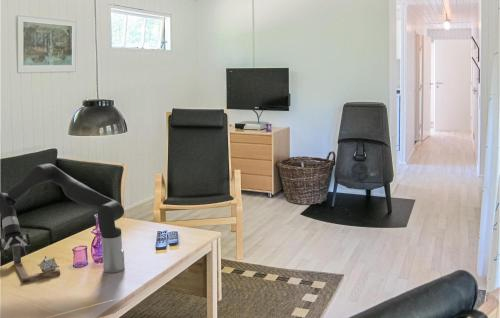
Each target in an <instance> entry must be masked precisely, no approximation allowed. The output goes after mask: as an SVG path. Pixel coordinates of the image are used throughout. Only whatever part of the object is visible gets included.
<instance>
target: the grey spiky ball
mask: <svg viewBox="0 0 500 318" xmlns="http://www.w3.org/2000/svg"><path fill="white" fill-rule="evenodd" d="M37 266H39V268H40V270H41V273H43V272H48V271H52V270H57V268H60V265H58V264H57V262H56V259H55V257H53V258H51V257H47V256H46V255H45V256H44V259H43V260H42V261H41V262H40V263H39V264H37Z"/></svg>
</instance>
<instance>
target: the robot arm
mask: <svg viewBox="0 0 500 318" xmlns="http://www.w3.org/2000/svg"><path fill="white" fill-rule="evenodd" d="M50 182H52V183H54V184H56V185H57V186H60V187H61V188H62V189H61V190H62V191H63V193H64V195H65V196H66V197H67V198H68V199H70V200H72V201H73V202H75V203H77V204H79V205H84V206H88V207H93V208H97V221H98V222H97V223H98V228H99V229H98V230H99V232H100V234H101V235H100V237H101V249H102V250H101V251H102V253H101V254H102V264H103V265H102V268H103V269H102V270H103V271H104V273H106V274H107V273H108V274H110V273H111V274H113V273H114V274H115V273H119V272H121V271H123V270H125V269H126V267H125V251H124V250H123V241H122V236H123V235H122V229H121V228H120V227H118V226H116V221H118V220H119V219H122V217H123V216H124V215H125V209H124V207H123V205H122V204H121V203H120V202H118V200H115V199H112V198H110V197H108V196H105V195H104V194H101V193H100V192H98V191H96V190H94V189H92V188H91V187H89V186H88V185H86V184H84V183H83V182H81V181H79V180H77V179H75V178H74V177H72V176H71V175H69V174H67V173H66V172H64V171H63V170H61V169H60V168H58V166H56V165H54V164H52V163H42V164H38V165H36V166H34V167H33V168H32V169H31V170H30V171H29V172H28V173H27V174H26V176H24V178H23V179H21V180H20V181H19V182H17V183H16V184H15V185H13V186H11V187H10V188H9V189H8V190H7V192H0V218H1V222H2V223H1V225H2V230H3V235H4V238H0V253H2V252H3V254H4V257H5V258H6V259H8V258H9V253H8V249H9V248H10V247H12V244H18V243H19V245H20V247H23V250H24V253H25V254H24V255H28V254H29V248H28V247H30V246H31V243H32V242H31V238H30V236H29V233H26V234H24V235H22V233H21V228H20V223H19V219H18V216H17V211H16V209H15V208H13V207H15V206H16V205H17V204H18V202H19V201H20V199H22V198H23V197H25V196H26V195H27V194H28V193H29V192H30V191H31V189H32V188H33V187H35V186H37V185H40V184H46V183H50ZM23 239H24V240H26V242H25V241H24V240H23ZM4 243H6V244H5V246H4V247H3V244H4Z"/></svg>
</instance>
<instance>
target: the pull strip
mask: <svg viewBox="0 0 500 318" xmlns="http://www.w3.org/2000/svg"><path fill="white" fill-rule="evenodd" d="M11 247H12V249H11V250H12V260H13V265H14V267H15V269H16V271H17V273H18V275H19V278H20V279H21V281H22V283H23V284H25V283H31V282H34V281H39V280H44V279H48V278H52V277H57V276H61V271H60V268H58V269H57V268H56V269H55V270H52V271H48V272H40V273H34V274H31V275H30V274H28V273H27V272H28V271H26V269H25V267H24V265H23V262H22V257H21V245H19V243H18V244H12V246H11Z"/></svg>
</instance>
